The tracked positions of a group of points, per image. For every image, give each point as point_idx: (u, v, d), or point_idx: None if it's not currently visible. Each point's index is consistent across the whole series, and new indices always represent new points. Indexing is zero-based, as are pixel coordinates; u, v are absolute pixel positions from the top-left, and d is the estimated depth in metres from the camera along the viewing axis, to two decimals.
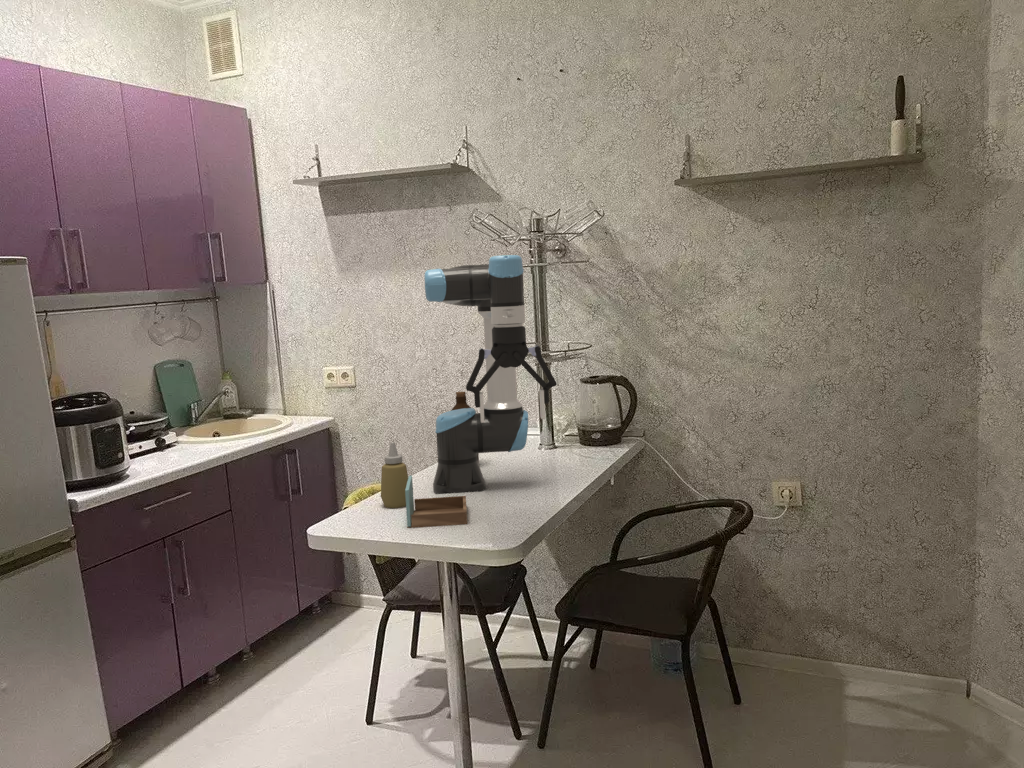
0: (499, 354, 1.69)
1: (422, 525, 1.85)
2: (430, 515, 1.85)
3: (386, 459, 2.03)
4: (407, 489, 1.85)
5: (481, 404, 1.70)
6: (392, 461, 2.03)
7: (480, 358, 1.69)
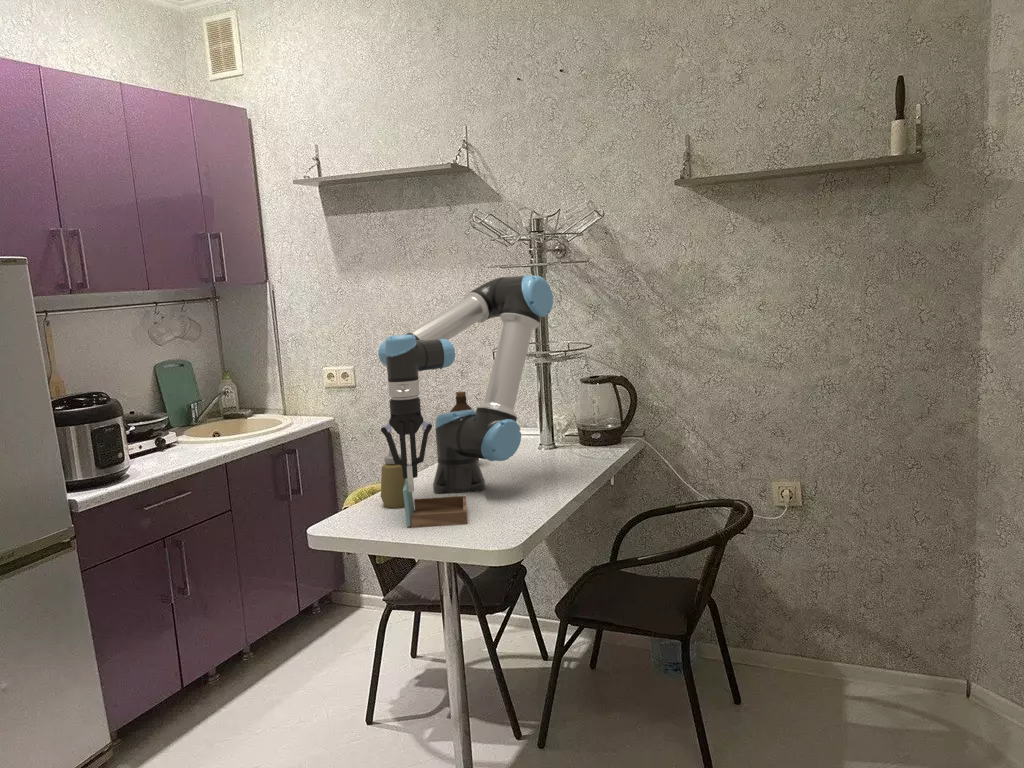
0: (396, 421, 1.88)
1: (422, 525, 1.85)
2: (430, 515, 1.85)
3: (386, 459, 2.03)
4: (405, 489, 1.85)
5: (408, 476, 1.90)
6: (392, 461, 2.03)
7: (386, 435, 1.88)
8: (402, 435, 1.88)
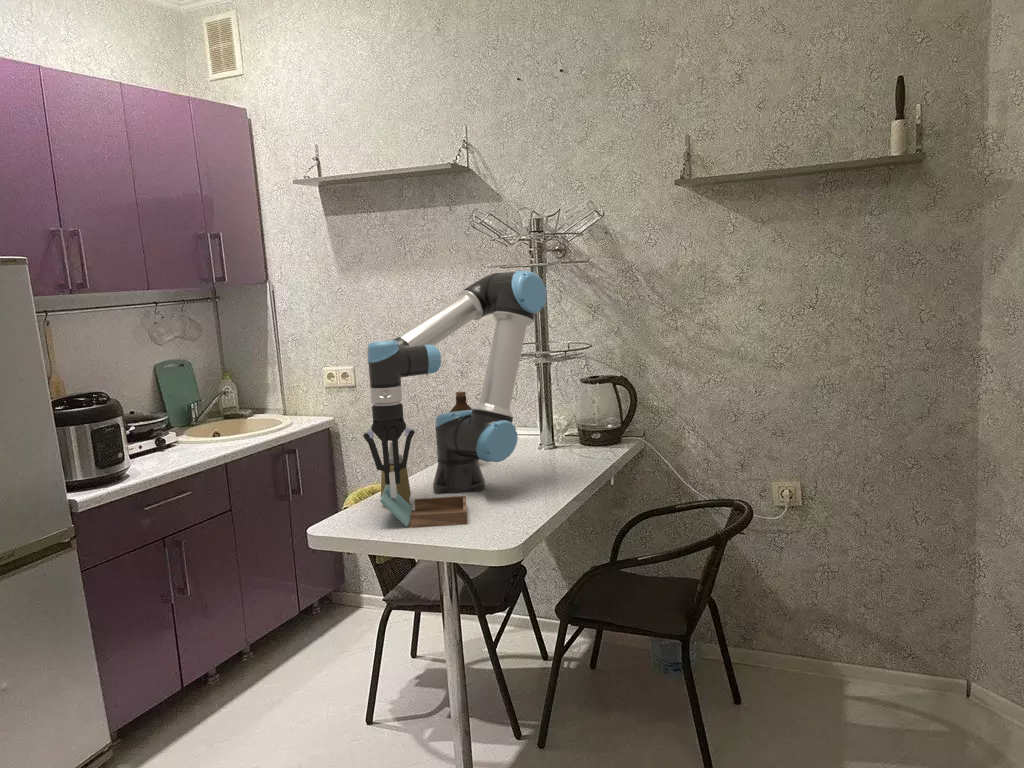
0: (379, 427, 1.88)
1: (422, 525, 1.85)
2: (430, 515, 1.85)
3: None
4: (381, 498, 1.85)
5: (390, 482, 1.90)
6: (392, 461, 2.03)
7: (368, 441, 1.88)
8: (384, 441, 1.88)
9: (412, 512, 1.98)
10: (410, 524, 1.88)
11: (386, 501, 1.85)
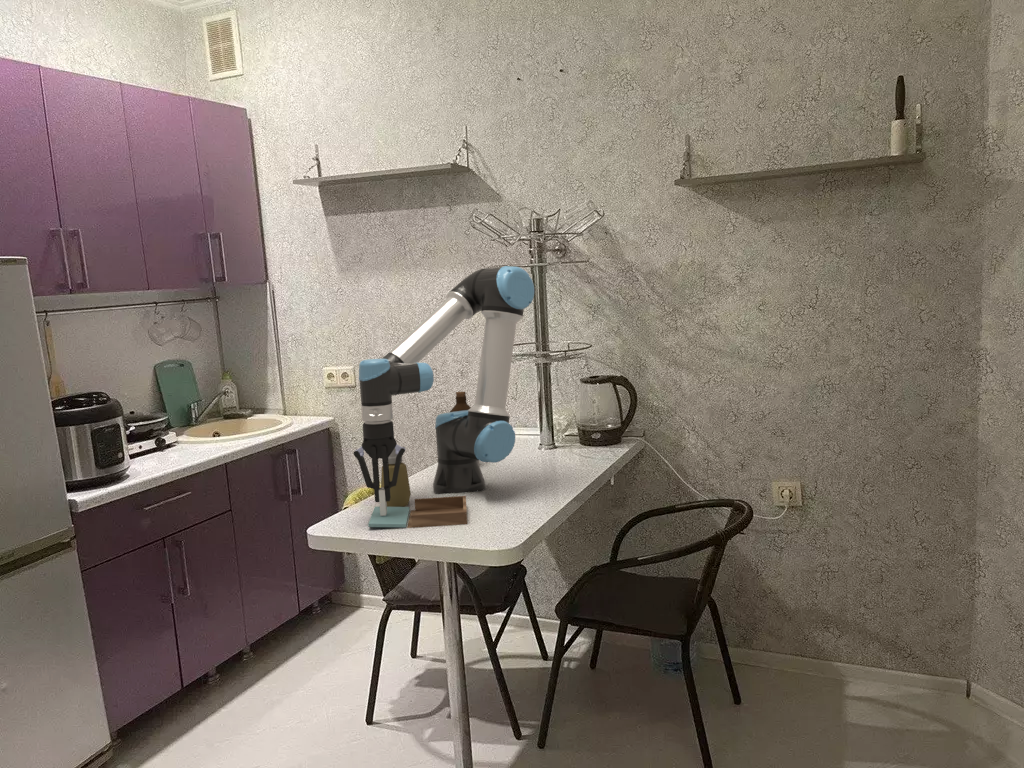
0: (369, 445, 1.89)
1: (422, 525, 1.85)
2: (430, 515, 1.85)
3: None
4: None
5: (380, 499, 1.90)
6: (392, 461, 2.03)
7: (358, 458, 1.89)
8: (374, 459, 1.89)
9: (412, 512, 1.98)
10: (410, 524, 1.88)
11: (374, 522, 1.86)
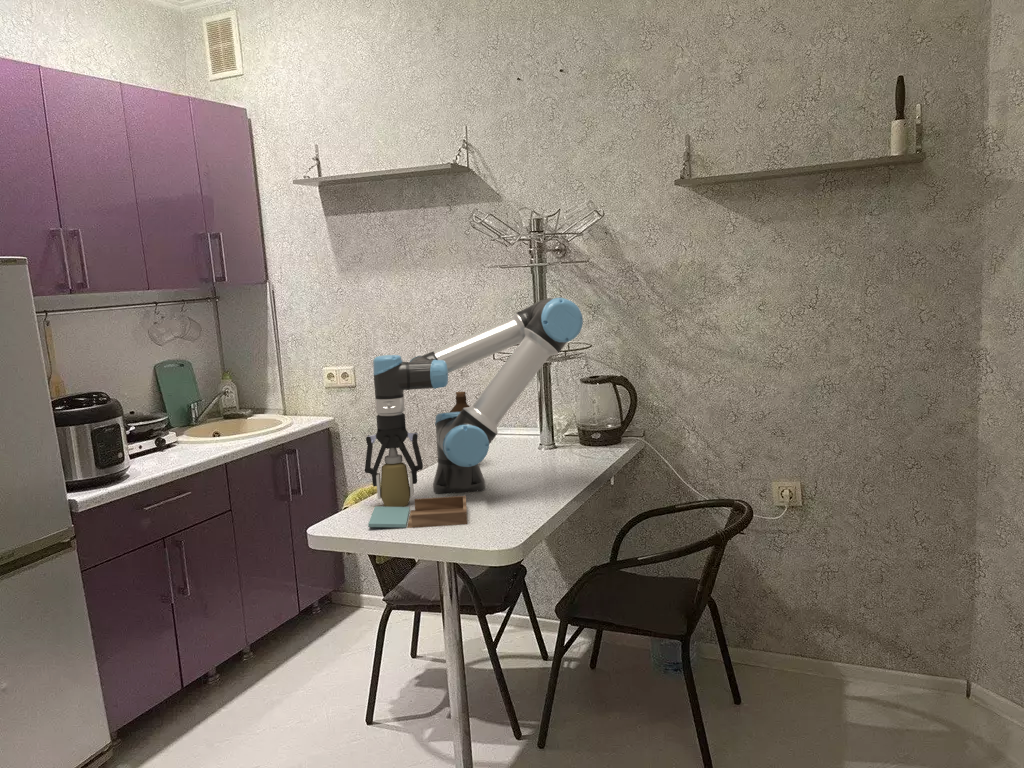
0: (383, 436, 2.03)
1: (422, 525, 1.85)
2: (430, 515, 1.85)
3: (386, 459, 2.03)
4: None
5: (377, 484, 2.04)
6: (392, 461, 2.03)
7: (368, 444, 2.03)
8: (383, 448, 2.03)
9: (412, 512, 1.98)
10: (410, 524, 1.88)
11: (374, 522, 1.86)
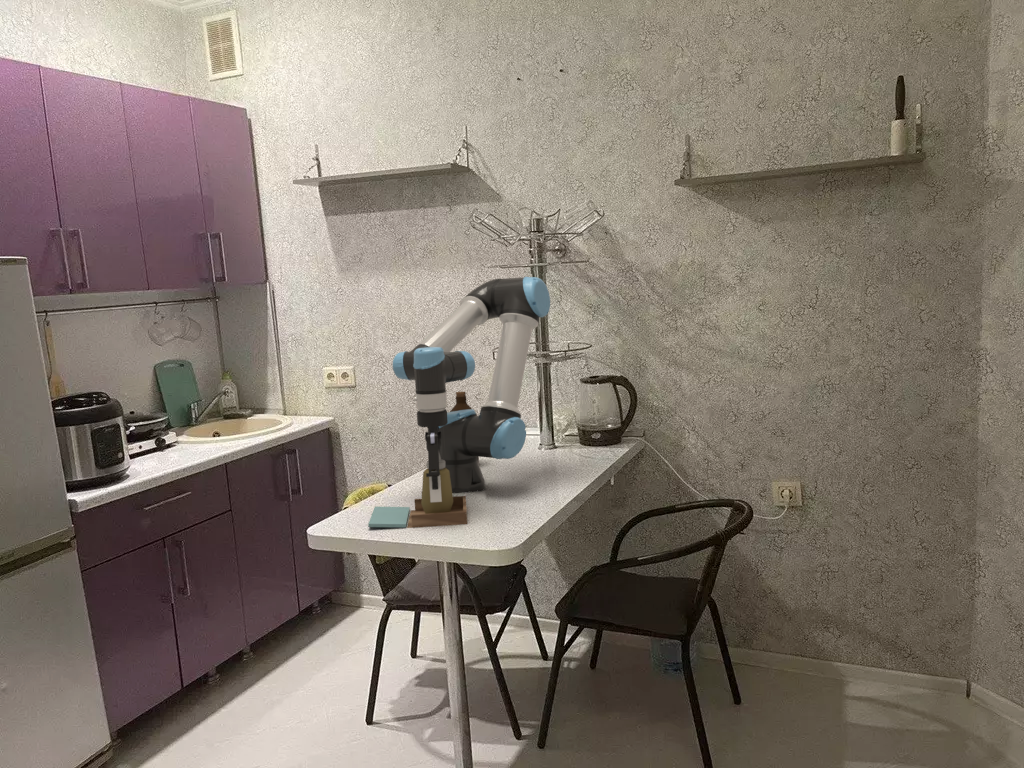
0: None
1: (422, 525, 1.85)
2: (430, 515, 1.85)
3: None
4: None
5: None
6: None
7: None
8: None
9: (412, 512, 1.98)
10: (410, 524, 1.88)
11: (374, 522, 1.86)
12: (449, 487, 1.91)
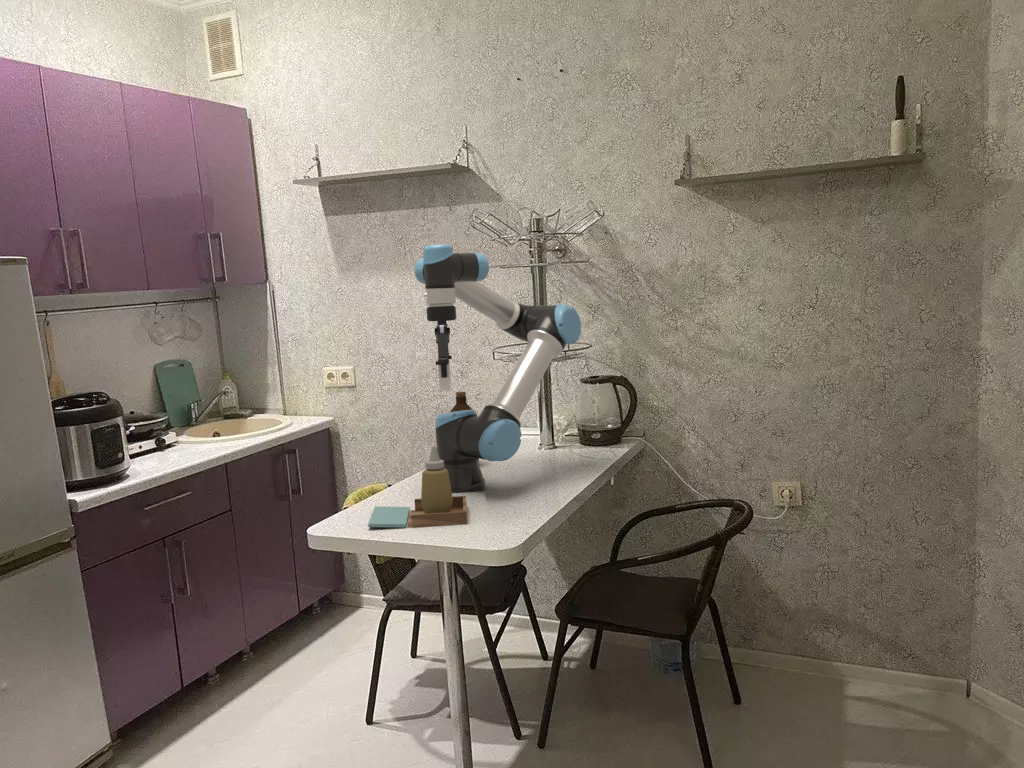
0: None
1: (422, 525, 1.85)
2: (430, 515, 1.85)
3: None
4: None
5: None
6: None
7: None
8: None
9: (412, 512, 1.98)
10: (410, 524, 1.88)
11: (374, 522, 1.86)
12: (448, 487, 1.91)
